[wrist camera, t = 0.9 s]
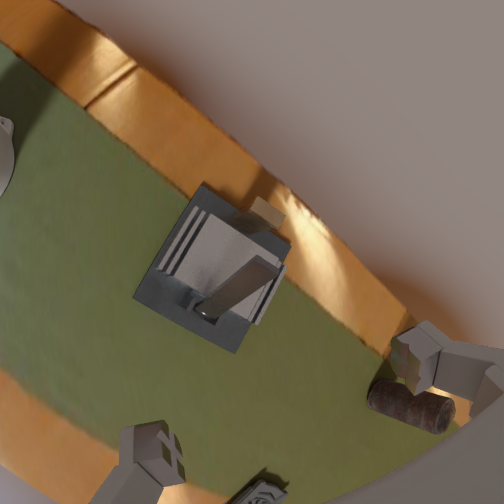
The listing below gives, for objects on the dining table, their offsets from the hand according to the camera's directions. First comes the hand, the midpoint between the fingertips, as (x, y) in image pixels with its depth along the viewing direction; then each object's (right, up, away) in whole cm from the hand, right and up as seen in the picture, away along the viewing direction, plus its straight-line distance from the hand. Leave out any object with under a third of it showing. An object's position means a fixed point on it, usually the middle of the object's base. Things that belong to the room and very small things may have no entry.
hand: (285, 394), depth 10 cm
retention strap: (-3, 0, +28) cm, 29 cm away
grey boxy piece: (-7, +1, +40) cm, 41 cm away
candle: (+26, -26, +52) cm, 63 cm away
